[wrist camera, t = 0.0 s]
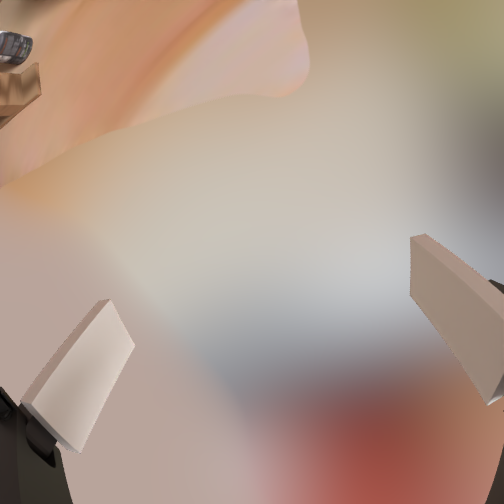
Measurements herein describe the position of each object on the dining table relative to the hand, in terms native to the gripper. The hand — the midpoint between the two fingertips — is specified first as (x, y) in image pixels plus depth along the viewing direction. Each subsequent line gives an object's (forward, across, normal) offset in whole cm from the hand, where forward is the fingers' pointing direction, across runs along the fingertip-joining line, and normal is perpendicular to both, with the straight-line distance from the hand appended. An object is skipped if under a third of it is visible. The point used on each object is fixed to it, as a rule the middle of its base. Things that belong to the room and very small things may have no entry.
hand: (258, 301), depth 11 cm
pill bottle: (+28, -35, +40) cm, 60 cm away
